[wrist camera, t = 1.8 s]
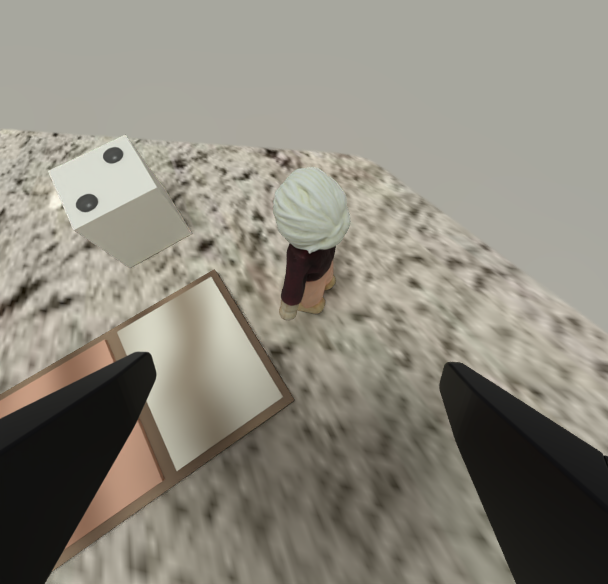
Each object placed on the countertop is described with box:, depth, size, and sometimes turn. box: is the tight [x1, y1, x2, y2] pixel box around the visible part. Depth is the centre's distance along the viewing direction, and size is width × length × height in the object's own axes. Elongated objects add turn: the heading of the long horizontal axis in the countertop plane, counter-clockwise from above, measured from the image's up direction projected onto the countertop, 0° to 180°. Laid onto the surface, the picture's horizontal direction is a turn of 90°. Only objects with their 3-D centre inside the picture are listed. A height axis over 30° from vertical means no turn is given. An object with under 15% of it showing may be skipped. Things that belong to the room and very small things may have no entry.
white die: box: [48, 135, 192, 268], centre depth 23 cm, size 6×6×6 cm
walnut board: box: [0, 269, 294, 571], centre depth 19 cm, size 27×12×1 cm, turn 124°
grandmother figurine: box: [273, 167, 350, 320], centre depth 17 cm, size 8×4×13 cm, turn 164°
